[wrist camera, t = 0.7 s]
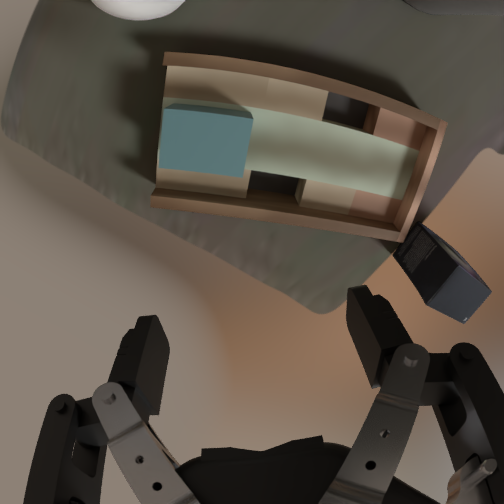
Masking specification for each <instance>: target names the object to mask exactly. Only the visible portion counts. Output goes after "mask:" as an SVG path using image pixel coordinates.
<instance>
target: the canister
mask: <svg viewBox="0 0 504 504" xmlns="http://www.w3.org/2000/svg"><path fill="white" fill-rule="evenodd" d="M404 1H405V2H406V3H408V4H409V5H411V6H412V7H414V8H415V9H417V10H419V11H422V12H425V13H428V14H430V15H459V14H481V15H503V16H504V0H404Z"/></svg>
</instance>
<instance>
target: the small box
mask: <svg viewBox="0 0 504 504" xmlns="http://www.w3.org/2000/svg"><path fill="white" fill-rule="evenodd" d="M393 257H394V258H395V259H396V261H397V262H398V263H399V265H400V266H401V267H402V269H403V270H404V272H405V273H406V274H407V276H408V277H409V279H410V280H411V281H412V283H413V284H414V286H415V287H416V289H417V290H418V292H419V294H420V295H421V297H422V299H423V300H424V303H425V304H426V305H427V306H429V307H431V308H433V309H435V310H437V311H439V312H441V313H443V314H445V315H447V316H449V317H451V318H453V319H455V320H457V321H459V322H461V323H463V324H464V323H466V321H467V320H468V319H469V318H470V317H471V316H472V315H473V313H474V312H475V311H476V310H477V309H478V308H479V307H480V305H481V304H482V303H483V302H484V301H485V300H486V299H487V297H488V296H489V295H490V294H491V292H492V291H491V290H490V289H489V287H488V286H487V285H486V283H485V282H484V281H483V280H482V279H481V278H480V276H479V275H478V274H477V273H476V271H475V270H474V269H473V268H472V267H471V266H470V265H469V264H468V263H467V261H466V260H465V259H464V258H463V257H462V256H461V255H460V254H459V253H458V252H457V251H456V250H455V249H454V248H453V247H452V246H450V245H449V244H448V243H447V242H445V241H444V240H443V239H442V238H440V237H439V236H438V235H437V234H435V233H434V232H433V231H431V230H430V229H429V228H427V227H426V226H425V225H423V224H422V223H420V222H417V223H416V225H415V226H414V227H413V229H412V230H411V231H410V233H409V234H408V235H407V236H406V238H405V240H404V242H403V243H401V244H400V246H399V247H398V248H397V249H396V251H395V252H394V253H393Z"/></svg>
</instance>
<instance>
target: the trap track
mask: <svg viewBox="0 0 504 504" xmlns="http://www.w3.org/2000/svg"><path fill="white" fill-rule="evenodd" d="M163 65H165V66H167V73H166V80H165V88H164V96H163V104H162V113H161V122H160V133H159V144H158V157H157V172H156V188H155V190H154V191H153V193H152V195H151V207H153V208H162V209H171V210H180V211H189V212H197V213H205V214H214V215H222V216H229V217H237V218H245V219H252V220H260V221H267V222H274V223H281V224H288V225H295V226H302V227H309V228H316V229H322V230H329V231H335V232H341V233H348V234H354V235H360V236H366V237H372V238H378V239H384V240H390V241H396V242H402V243H403V242H404V240H405V238H406V235H407V233H408V231H409V229H410V226H411V224H412V222H413V219H414V217H415V214H416V212H417V209H418V207H419V205H420V202H421V199H422V197H423V194H424V192H425V189H426V186H427V184H428V181H429V178H430V176H431V173H432V170H433V167H434V164H435V161H436V158H437V155H438V152H439V149H440V146H441V143H442V140H443V137H444V133H445V130H446V127H447V122H445V121H443V120H441V119H439V118H437V117H435V116H432V115H430V114H428V113H426V112H424V111H421V110H419V109H417V108H414V107H412V106H409V105H407V104H405V103H402V102H400V101H397V100H394V99H392V98H389V97H387V96H384V95H381V94H378V93H376V92H373V91H370V90H367V89H364V88H361V87H358V86H355V85H352V84H348V83H345V82H342V81H338V80H335V79H332V78H328V77H324V76H321V75H317V74H313V73H309V72H305V71H301V70H296V69H292V68H287V67H283V66H278V65H273V64H268V63H262V62H256V61H250V60H244V59H237V58H230V57H222V56H213V55H203V54H192V53H177V52H165V53H164V59H163ZM173 103H178V104H189V105H199V106H208V107H217V108H224V109H232V110H239V111H245V112H251V114H252V116H253V119H254V120H253V125H252V130H251V135H250V141H249V146H248V151H247V157H246V162H245V168H244V173H243V178H240V177H233V176H225V175H218V174H210V173H201V172H193V171H184V170H174V169H164V168H158V167H159V153H160V141H161V130H162V120H163V111H164V108H166V107H167V106H169V105H171V104H173Z"/></svg>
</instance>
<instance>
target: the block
mask: <svg viewBox="0 0 504 504" xmlns="http://www.w3.org/2000/svg"><path fill="white" fill-rule="evenodd" d="M253 120H254V119H253V116H252V114H251V112H245V111H239V110H232V109H224V108H217V107H208V106H199V105H189V104H178V103H173V104H171V105H169V106H167V107H166V108H164V111H163V120H162V130H161V141H160V153H159V167H158V168H164V169H174V170H184V171H193V172H201V173H210V174H218V175H225V176H233V177H240V178H243V173H244V168H245V162H246V157H247V151H248V146H249V141H250V135H251V130H252V125H253Z"/></svg>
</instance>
